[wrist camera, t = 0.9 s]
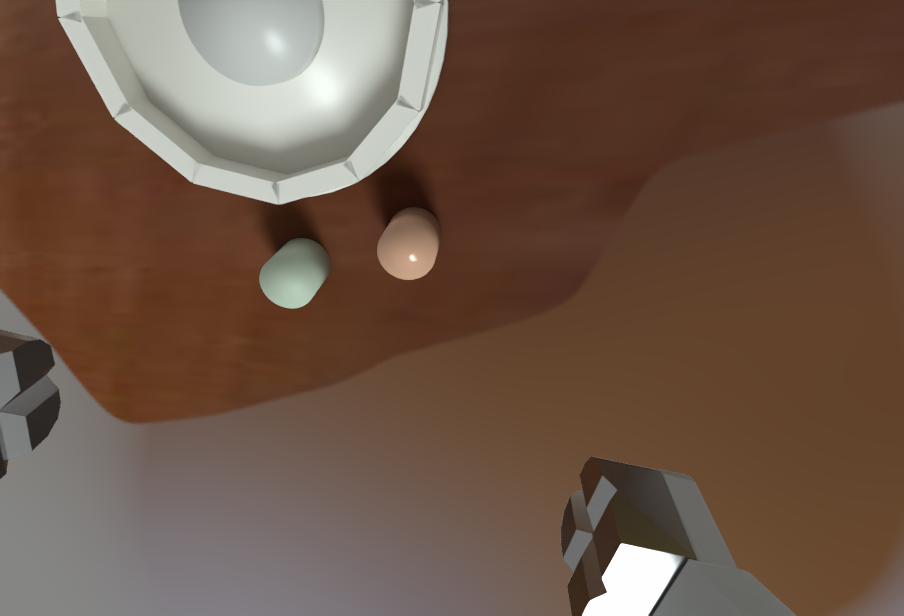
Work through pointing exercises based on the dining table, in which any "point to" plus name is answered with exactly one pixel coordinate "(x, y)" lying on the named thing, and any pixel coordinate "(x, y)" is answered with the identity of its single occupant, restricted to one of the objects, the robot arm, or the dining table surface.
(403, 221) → the terracotta bead
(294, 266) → the sage bead
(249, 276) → the dining table surface
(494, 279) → the dining table surface
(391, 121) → the groove tray
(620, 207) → the dining table surface
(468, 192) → the dining table surface
